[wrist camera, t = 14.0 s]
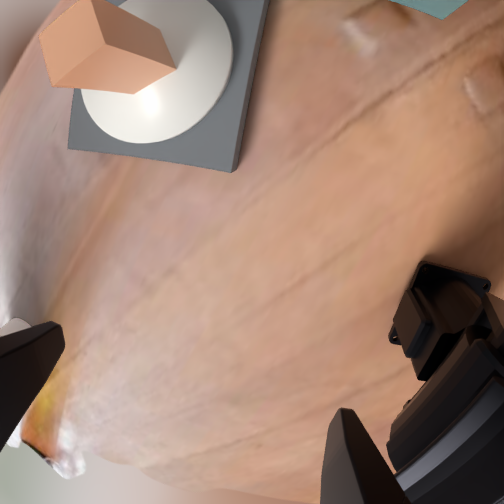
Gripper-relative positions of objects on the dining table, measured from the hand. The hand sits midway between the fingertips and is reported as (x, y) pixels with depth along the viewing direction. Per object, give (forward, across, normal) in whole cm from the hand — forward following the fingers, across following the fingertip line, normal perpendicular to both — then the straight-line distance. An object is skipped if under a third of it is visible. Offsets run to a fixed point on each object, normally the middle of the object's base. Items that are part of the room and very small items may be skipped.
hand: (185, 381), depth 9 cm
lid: (+12, +8, -10) cm, 17 cm away
